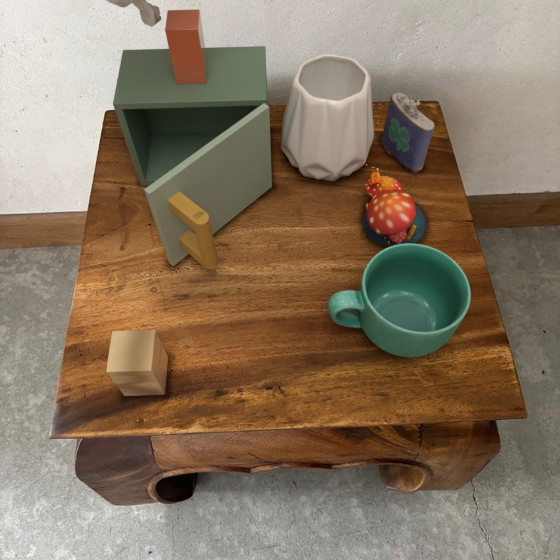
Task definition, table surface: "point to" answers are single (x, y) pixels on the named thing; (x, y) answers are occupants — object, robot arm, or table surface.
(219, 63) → the cupboard
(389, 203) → the figurine
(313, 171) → the vase
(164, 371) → the stand
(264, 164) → the door
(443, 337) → the mug
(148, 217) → the table surface
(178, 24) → the block
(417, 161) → the flask
